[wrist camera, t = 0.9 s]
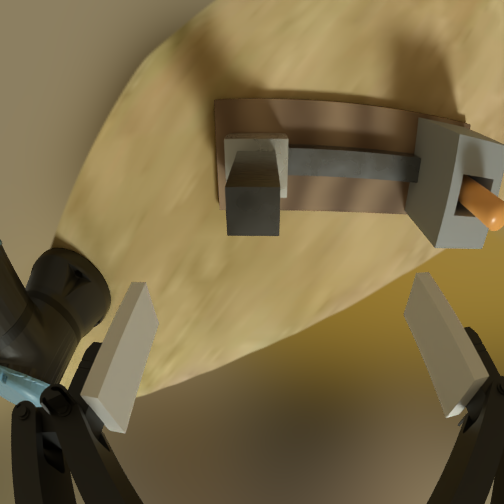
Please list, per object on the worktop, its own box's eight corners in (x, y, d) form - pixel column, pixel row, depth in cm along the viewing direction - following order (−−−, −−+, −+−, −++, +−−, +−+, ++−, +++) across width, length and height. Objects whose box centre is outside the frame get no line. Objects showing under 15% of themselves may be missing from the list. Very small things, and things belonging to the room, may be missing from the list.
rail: (230, 169, 34) (228, 175, 33) (229, 143, 33) (227, 147, 31) (410, 177, 34) (417, 182, 32) (414, 153, 32) (421, 158, 30)
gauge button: (444, 195, 29) (482, 230, 22) (449, 169, 27) (491, 199, 21) (464, 197, 29) (503, 231, 22) (469, 172, 27) (511, 202, 21)
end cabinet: (404, 210, 36) (434, 247, 28) (418, 117, 30) (459, 134, 22) (447, 213, 36) (481, 248, 28) (464, 127, 29) (508, 146, 22)
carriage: (230, 182, 35) (211, 250, 23) (228, 131, 32) (205, 170, 20) (284, 183, 35) (295, 250, 22) (285, 131, 32) (299, 170, 19)
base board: (220, 207, 38) (219, 209, 37) (215, 99, 31) (214, 100, 30) (449, 214, 37) (452, 217, 36) (467, 123, 30) (470, 124, 29)
